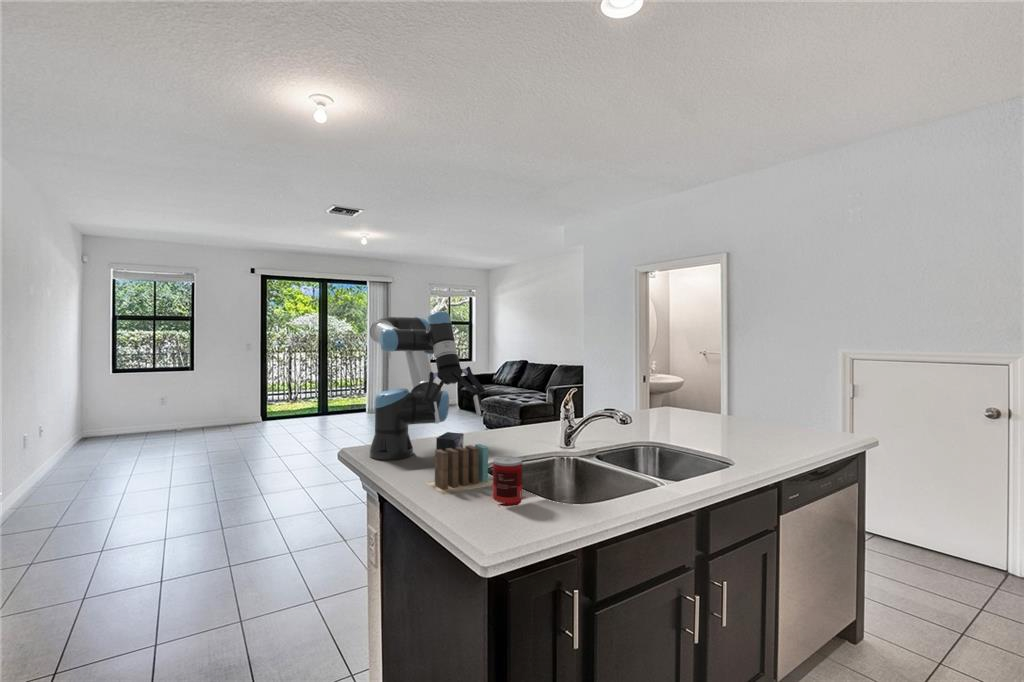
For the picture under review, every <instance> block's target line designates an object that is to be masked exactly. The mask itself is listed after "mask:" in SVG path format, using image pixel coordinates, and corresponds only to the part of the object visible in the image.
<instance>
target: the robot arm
mask: <svg viewBox="0 0 1024 682" xmlns="http://www.w3.org/2000/svg"><path fill="white" fill-rule="evenodd" d="M452 325H453V324H452V320H451V316H450V314H449V312H447V311H441V310H440V311H435V312H432V313H430V314H429V315H428V316H427V319H426V318H423V317H417V316H414V317H409V316H408V317H407V316H406V317H405V316H404V317H403V316H402V317H401V316H400V317H399V316H386V317H381V318H380V319H379V318H378V319H377V320H376V321H374V322H373V323H372V324H371V326H370V328H369V334H370V335H369V336H370V338H371V339H372V340H373V341H374V342H375V343H377V344H379V346H380V349H381V350H382V351H384V352H405V356H406V362H407V366H408V371H409V375H410V380H411V385H412V389H411V390H410V391H409V389H408V388H394V389H388V390H384V391H383V390H382V391H381V392H379V393H377V394H376V396H375V401H374V435H373V439H372V441H371V445H370V448H369V457H370V458H371V459H375V460H379V461H380V460H381V461H383V460H384V461H391V460H401V459H406V458H409V457H412V456H413V455H414V447H413V444H412V441H411V438H410V433H409V425H423V424H424V425H425V424H439V423H443V422H445V421H446V419H447V418H448V415H449V409H450V397H449V393H448V391H446V390H442V387H443V385H444V384H445V385H446V386H447V385H451V384H453V385H454V384H457V383H458V384H459V385H462V386H463V387H464V388H465V389H466V390H468V391H469V392H470V393H472V395H473V398H472V399H473V402H474V408H475V413H476V417H480V416H481V415H482V411H481V407H480V406H481V405H482V403H483V402H482V397H481V395H482V394H483V393H484V392H485V388H484V387H483V385H482V384H481V382H480V381H479V380H478V379H477V377H476V376H475V375H474V374H473V373H472V368H471V367H470V366H467V367H466V368H461V363H460V359H459V355H458V350H457V349H458V348H457V346H456V339H455V335H454V329H453V326H452ZM429 355H434V358H435V364H436V370H437V372H433V369H432V364H431V362H430V358H429ZM463 374H464V375H465V376H467V378H468V379H469V380H470V382H471V383H470V382H469V381H467V380H466V379H465V377H463ZM436 378H438V379H439V380H440V382H439V384H438V383H437V382H436V381H435V379H436Z"/></svg>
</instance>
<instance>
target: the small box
mask: <svg viewBox="0 0 1024 682" xmlns="http://www.w3.org/2000/svg"><path fill="white" fill-rule="evenodd" d="M464 437H465V436H464V432H463V433H462V432H451V431H447V432H445V433H442V434H441V435H439V436H438V437H436V439H435V440H436V442H435V443H436V444H435V445H436V446H435V447H436V448H435V450H438V449H441V450H443V451H445V449H446V448H452V449H454V450H455V448H456V447H463V448H464V439H465V438H464Z"/></svg>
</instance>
